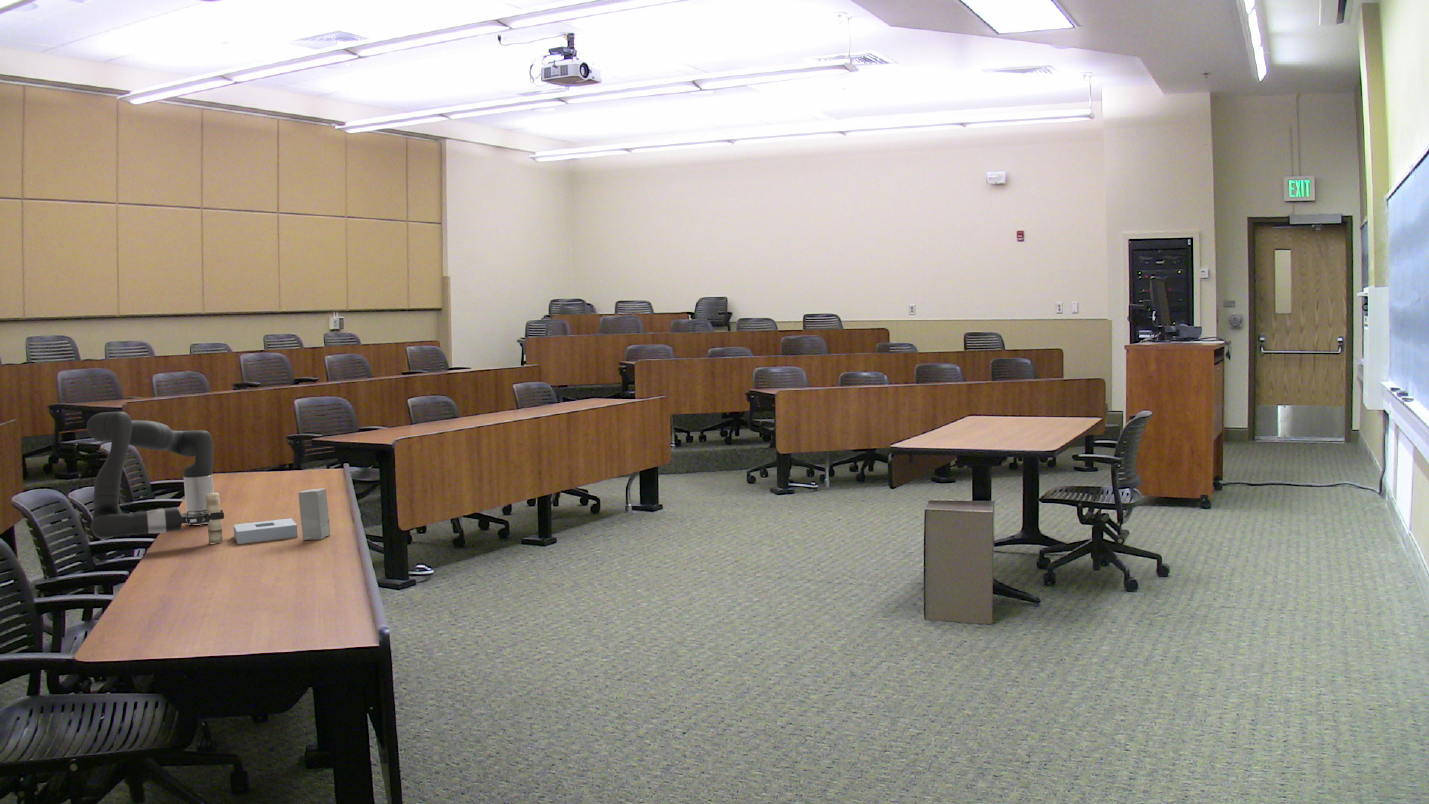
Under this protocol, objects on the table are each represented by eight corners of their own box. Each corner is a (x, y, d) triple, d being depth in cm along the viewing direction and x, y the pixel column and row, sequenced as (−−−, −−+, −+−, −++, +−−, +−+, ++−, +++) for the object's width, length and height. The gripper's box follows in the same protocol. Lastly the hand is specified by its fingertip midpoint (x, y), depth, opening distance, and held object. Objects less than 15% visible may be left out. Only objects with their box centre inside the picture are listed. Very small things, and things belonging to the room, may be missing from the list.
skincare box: (321, 540, 347) (318, 491, 345) (299, 540, 347) (296, 492, 345) (331, 534, 355) (328, 487, 354) (310, 535, 355) (307, 487, 354)
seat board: (234, 536, 357) (233, 524, 356) (291, 529, 365) (291, 518, 365) (237, 544, 344) (237, 531, 344) (297, 536, 353) (296, 524, 353)
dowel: (208, 542, 349) (204, 493, 347) (222, 540, 351) (218, 492, 349) (209, 544, 345) (205, 495, 344) (223, 543, 347) (219, 493, 346)
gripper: (163, 512, 334) (224, 505, 342) (162, 505, 346) (220, 499, 354) (165, 536, 334) (226, 529, 342) (164, 528, 347) (222, 522, 355)
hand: (223, 514), depth 348 cm, fingers closed on dowel, 4 cm apart
